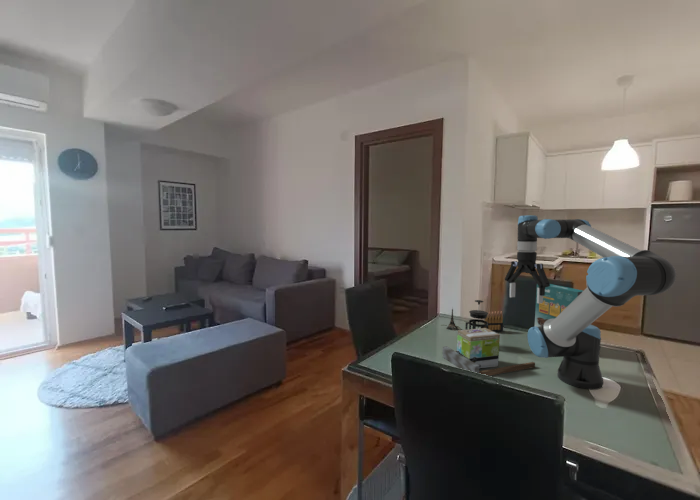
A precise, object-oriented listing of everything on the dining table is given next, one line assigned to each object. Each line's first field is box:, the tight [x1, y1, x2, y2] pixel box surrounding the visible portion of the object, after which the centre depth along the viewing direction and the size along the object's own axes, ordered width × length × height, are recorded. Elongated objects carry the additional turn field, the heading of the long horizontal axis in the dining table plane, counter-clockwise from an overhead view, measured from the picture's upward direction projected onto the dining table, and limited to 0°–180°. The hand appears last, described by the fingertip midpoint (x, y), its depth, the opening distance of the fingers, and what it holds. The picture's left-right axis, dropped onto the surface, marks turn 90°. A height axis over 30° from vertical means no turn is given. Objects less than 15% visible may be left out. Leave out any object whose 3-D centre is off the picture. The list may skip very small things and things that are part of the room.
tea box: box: [456, 327, 501, 369], centre depth 150 cm, size 15×10×15 cm, turn 107°
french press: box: [464, 299, 489, 330], centre depth 173 cm, size 12×9×23 cm
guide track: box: [442, 346, 536, 377], centre depth 153 cm, size 22×32×5 cm
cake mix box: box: [534, 283, 584, 327], centre depth 172 cm, size 22×6×30 cm, turn 22°
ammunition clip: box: [483, 310, 504, 333], centre depth 194 cm, size 11×2×12 cm, turn 96°
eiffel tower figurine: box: [440, 306, 463, 332], centre depth 199 cm, size 15×10×13 cm
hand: (525, 300), depth 148 cm, fingers open, 13 cm apart
